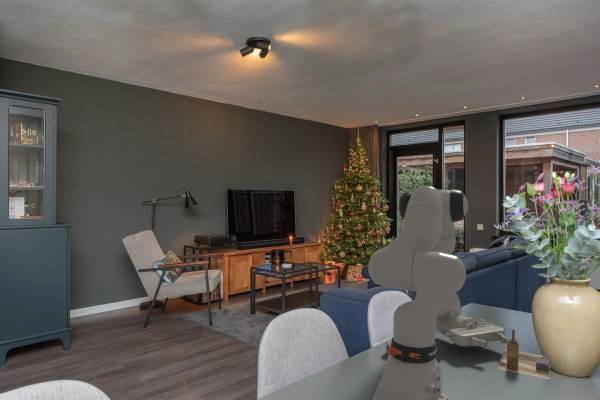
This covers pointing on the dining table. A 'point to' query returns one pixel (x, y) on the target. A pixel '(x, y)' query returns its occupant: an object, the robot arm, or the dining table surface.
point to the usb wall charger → (387, 347)
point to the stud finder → (542, 364)
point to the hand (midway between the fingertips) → (496, 342)
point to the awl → (512, 353)
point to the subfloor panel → (524, 365)
